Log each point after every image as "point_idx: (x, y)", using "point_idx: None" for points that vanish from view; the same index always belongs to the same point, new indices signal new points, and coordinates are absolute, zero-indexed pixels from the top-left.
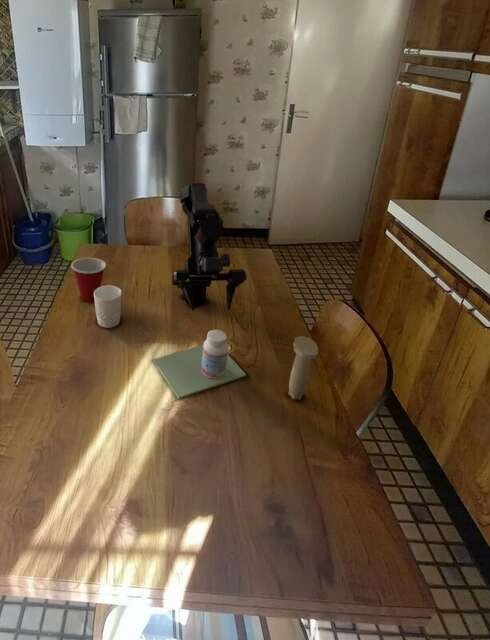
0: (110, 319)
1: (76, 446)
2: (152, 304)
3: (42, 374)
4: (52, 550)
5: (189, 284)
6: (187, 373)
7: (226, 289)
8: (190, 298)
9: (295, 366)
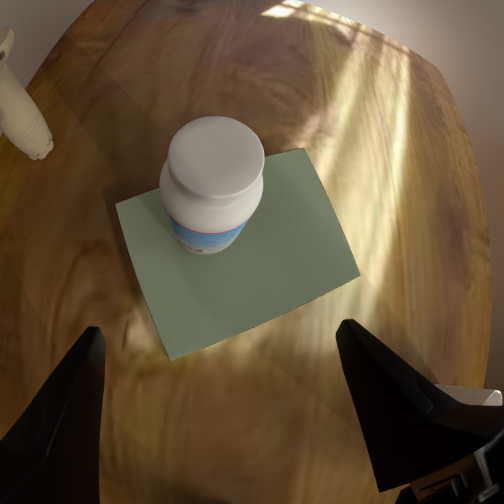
0: (445, 390)
1: (419, 114)
2: (336, 493)
3: (483, 246)
4: (392, 45)
5: (476, 424)
6: (279, 217)
7: (97, 500)
8: (401, 365)
9: (20, 88)
